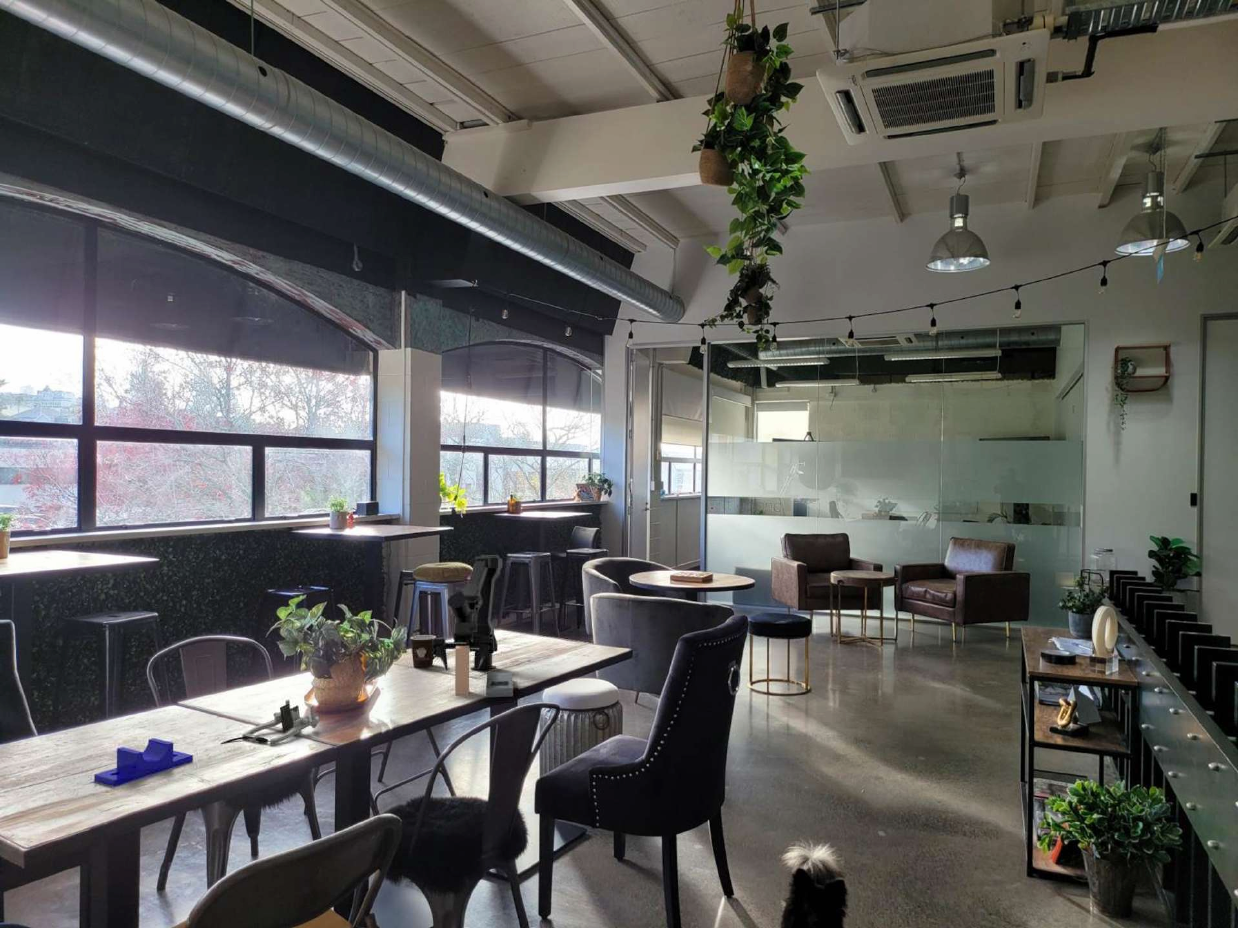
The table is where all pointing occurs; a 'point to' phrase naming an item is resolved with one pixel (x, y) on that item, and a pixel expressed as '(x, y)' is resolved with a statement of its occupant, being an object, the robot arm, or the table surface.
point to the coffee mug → (422, 651)
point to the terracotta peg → (462, 670)
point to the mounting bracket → (143, 762)
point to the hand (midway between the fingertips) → (462, 669)
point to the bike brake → (288, 720)
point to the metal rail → (499, 685)
